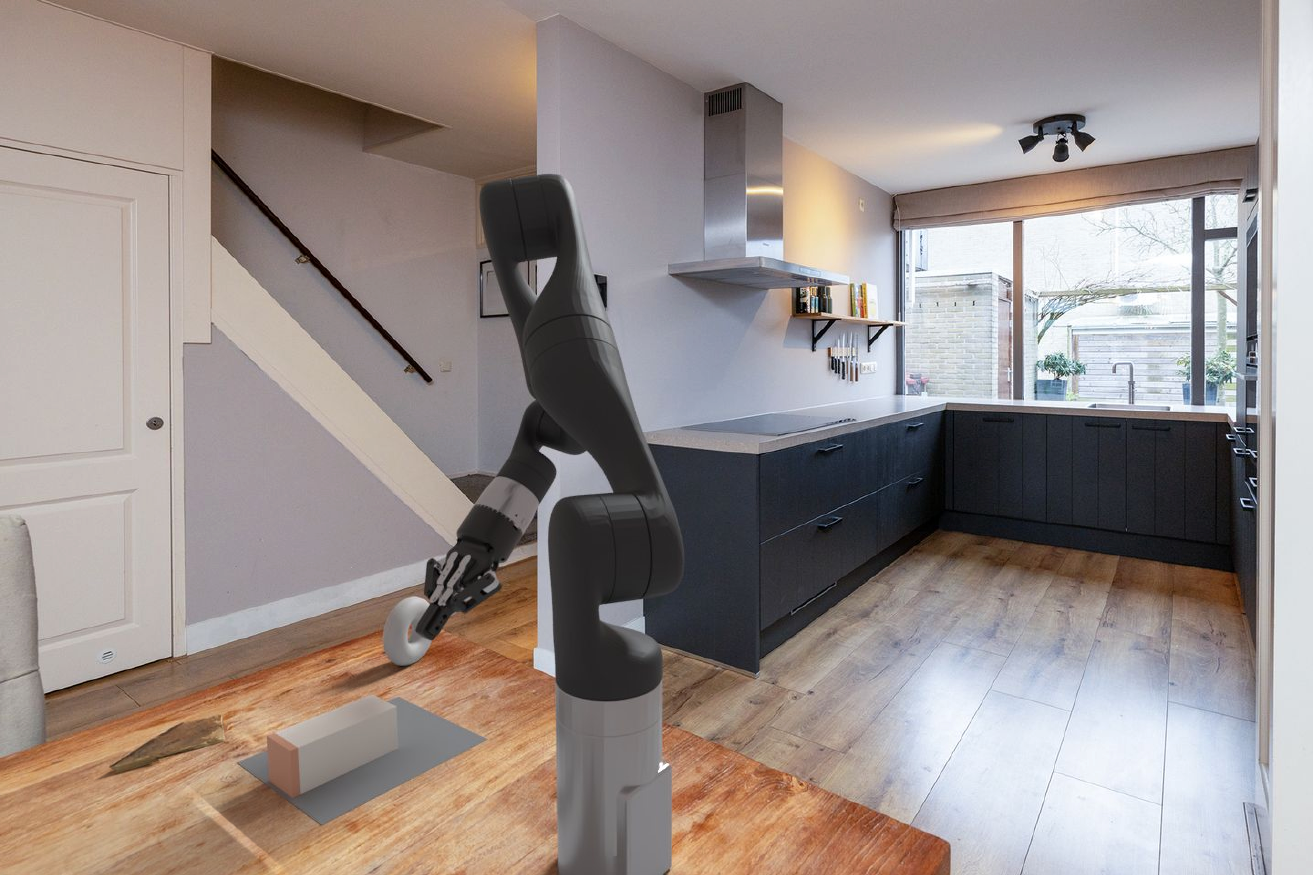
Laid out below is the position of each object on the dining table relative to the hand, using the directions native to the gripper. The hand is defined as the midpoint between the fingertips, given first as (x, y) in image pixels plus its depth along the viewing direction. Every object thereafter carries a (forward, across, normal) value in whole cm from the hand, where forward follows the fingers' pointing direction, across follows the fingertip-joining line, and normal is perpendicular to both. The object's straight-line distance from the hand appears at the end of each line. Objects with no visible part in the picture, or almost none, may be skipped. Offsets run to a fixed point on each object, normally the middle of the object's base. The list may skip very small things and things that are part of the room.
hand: (423, 636), depth 88 cm
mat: (+14, 0, +2) cm, 14 cm away
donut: (+1, -18, +15) cm, 23 cm away
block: (+10, 0, +2) cm, 10 cm away
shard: (+23, -18, -6) cm, 29 cm away
